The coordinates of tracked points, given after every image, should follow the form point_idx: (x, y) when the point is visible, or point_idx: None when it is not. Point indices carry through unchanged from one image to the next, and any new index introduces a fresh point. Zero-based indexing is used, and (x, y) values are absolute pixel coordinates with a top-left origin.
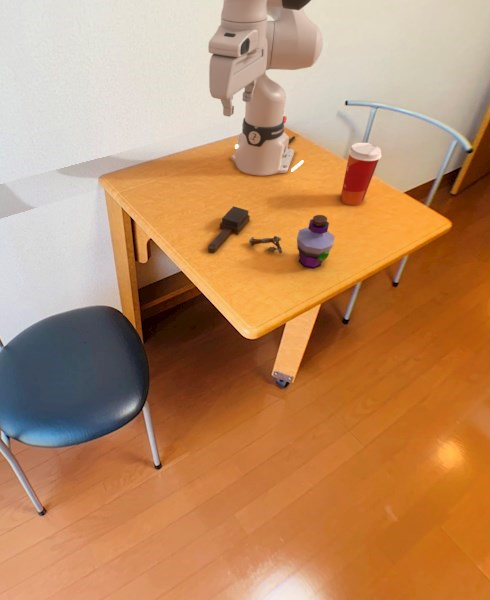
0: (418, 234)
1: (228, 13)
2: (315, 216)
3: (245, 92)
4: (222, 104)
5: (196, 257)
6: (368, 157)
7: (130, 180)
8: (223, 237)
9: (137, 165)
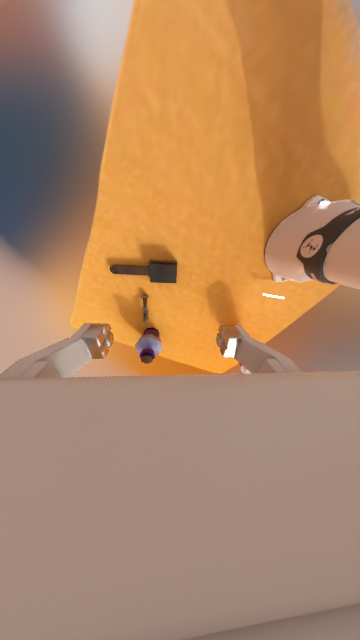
0: (206, 367)
1: None
2: (147, 357)
3: (234, 343)
4: (53, 345)
5: (97, 259)
6: (243, 371)
7: None
8: (132, 273)
9: None
